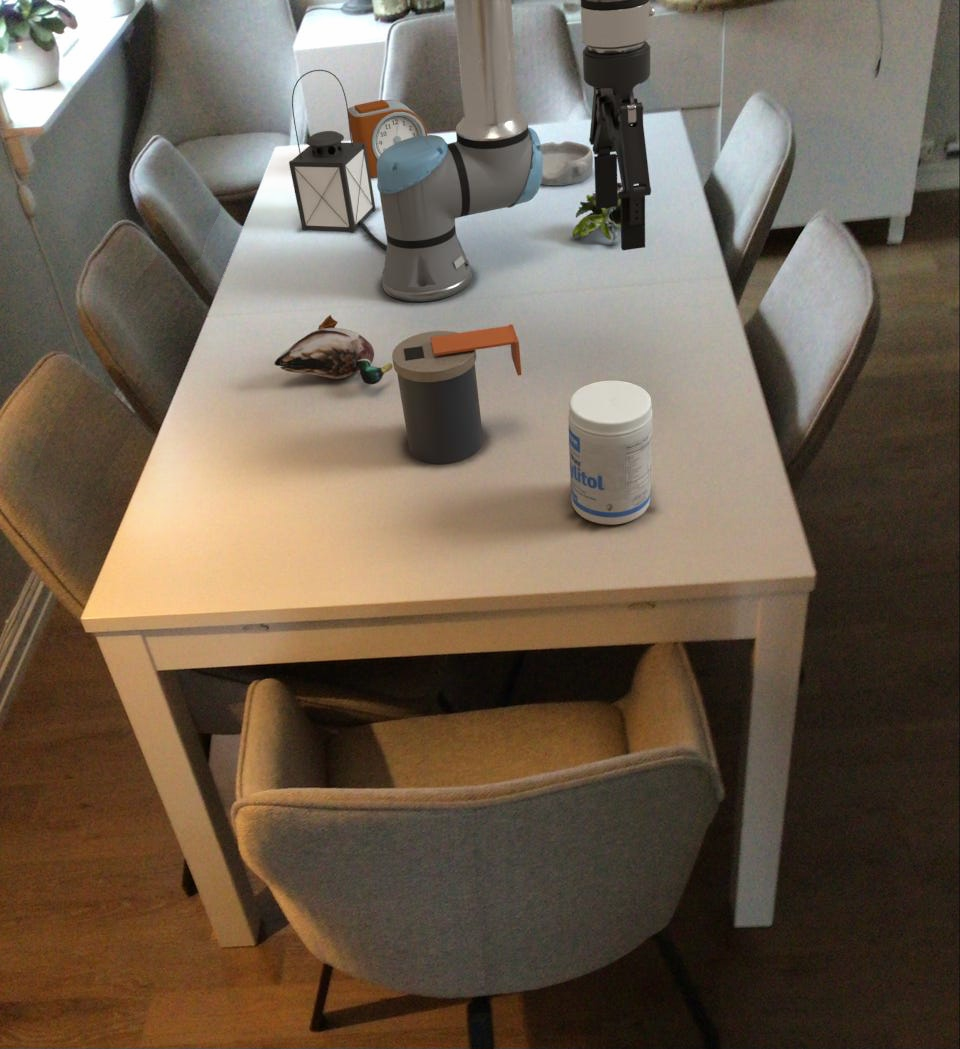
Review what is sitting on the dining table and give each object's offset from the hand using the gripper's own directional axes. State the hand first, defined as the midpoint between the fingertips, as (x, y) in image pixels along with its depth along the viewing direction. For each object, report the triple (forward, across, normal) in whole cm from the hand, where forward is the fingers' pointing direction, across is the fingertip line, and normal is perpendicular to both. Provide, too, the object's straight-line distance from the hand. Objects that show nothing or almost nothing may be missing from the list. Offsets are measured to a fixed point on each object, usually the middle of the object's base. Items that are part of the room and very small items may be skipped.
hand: (619, 226), depth 133 cm
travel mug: (+26, -3, +25) cm, 36 cm away
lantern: (+25, +82, +36) cm, 93 cm away
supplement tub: (+26, -22, +7) cm, 35 cm away
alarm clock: (+25, +108, +24) cm, 113 cm away
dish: (+25, +89, -9) cm, 93 cm away
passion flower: (+25, +55, -11) cm, 62 cm away
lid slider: (+16, -3, +20) cm, 25 cm away
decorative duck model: (+26, +18, +39) cm, 50 cm away
